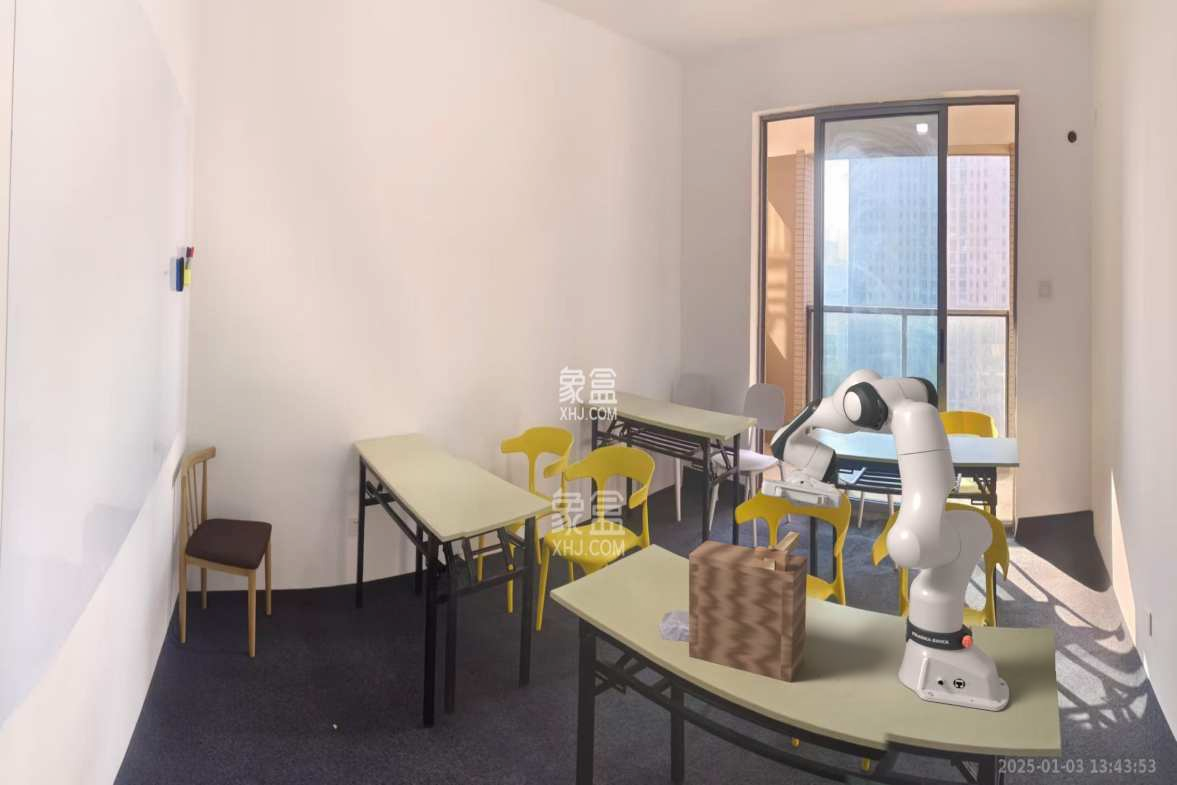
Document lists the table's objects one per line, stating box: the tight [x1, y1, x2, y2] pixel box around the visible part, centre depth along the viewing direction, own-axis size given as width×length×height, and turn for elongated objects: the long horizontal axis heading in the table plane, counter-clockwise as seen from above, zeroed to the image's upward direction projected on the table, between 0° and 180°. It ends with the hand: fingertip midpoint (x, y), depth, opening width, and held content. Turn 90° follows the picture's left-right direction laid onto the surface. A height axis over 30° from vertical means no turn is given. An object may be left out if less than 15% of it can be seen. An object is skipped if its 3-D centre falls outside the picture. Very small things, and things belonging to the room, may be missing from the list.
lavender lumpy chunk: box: [659, 610, 689, 643], centre depth 203 cm, size 12×5×10 cm
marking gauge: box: [755, 531, 801, 572], centre depth 184 cm, size 7×20×5 cm, turn 149°
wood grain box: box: [688, 540, 808, 683], centre depth 186 cm, size 25×11×26 cm, turn 59°
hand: (801, 497), depth 198 cm, fingers open, 8 cm apart
